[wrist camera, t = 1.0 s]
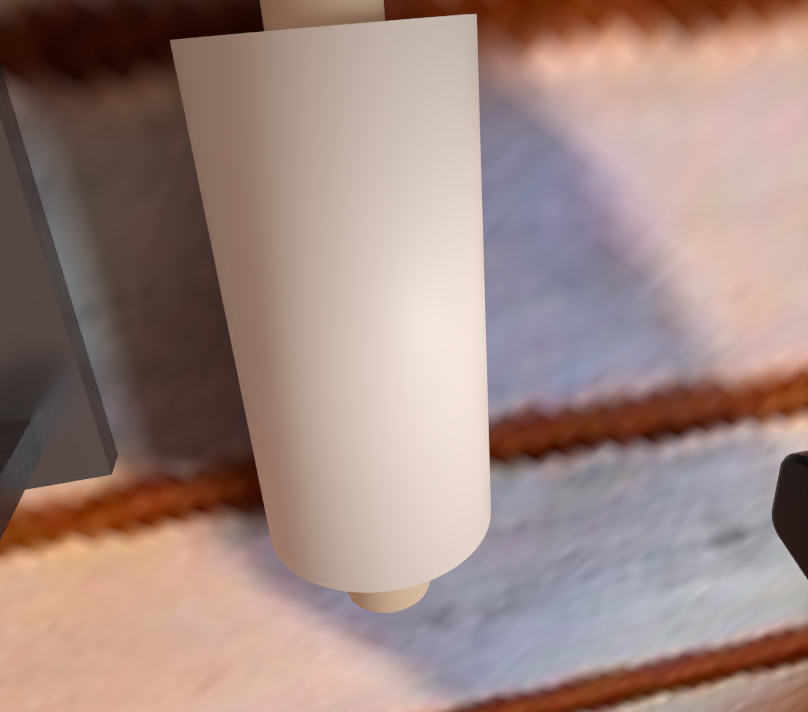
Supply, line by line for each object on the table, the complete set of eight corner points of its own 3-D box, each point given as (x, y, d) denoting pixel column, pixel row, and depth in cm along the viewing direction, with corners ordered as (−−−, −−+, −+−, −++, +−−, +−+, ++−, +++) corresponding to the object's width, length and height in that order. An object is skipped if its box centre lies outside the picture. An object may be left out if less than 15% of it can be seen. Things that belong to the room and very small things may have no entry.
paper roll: (158, -88, 15) (108, -157, 10) (428, -103, 16) (520, -175, 10) (279, 534, 22) (290, 691, 17) (459, 499, 23) (523, 638, 18)
